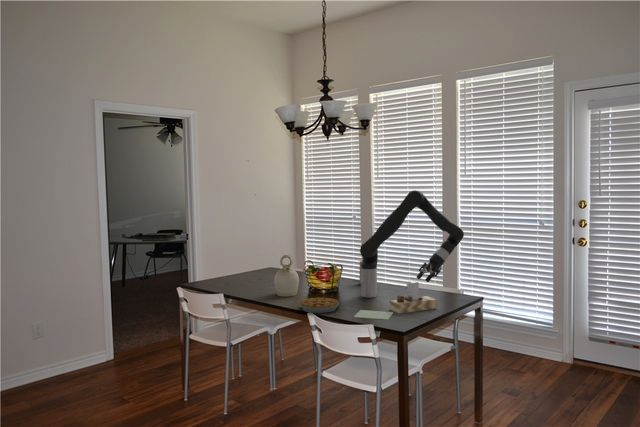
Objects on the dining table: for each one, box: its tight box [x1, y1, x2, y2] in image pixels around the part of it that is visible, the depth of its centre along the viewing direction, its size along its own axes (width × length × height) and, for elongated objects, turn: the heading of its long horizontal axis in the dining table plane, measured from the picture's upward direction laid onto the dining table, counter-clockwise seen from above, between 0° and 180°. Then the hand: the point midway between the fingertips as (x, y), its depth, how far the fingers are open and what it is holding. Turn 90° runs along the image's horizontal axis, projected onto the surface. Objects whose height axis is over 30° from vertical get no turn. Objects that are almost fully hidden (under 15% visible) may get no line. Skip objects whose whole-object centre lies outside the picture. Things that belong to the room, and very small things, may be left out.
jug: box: [273, 254, 300, 298], centre depth 316 cm, size 15×16×25 cm
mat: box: [353, 309, 394, 321], centre depth 265 cm, size 18×14×1 cm
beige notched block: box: [389, 294, 438, 314], centre depth 276 cm, size 24×9×8 cm, turn 112°
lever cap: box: [407, 280, 420, 301], centre depth 276 cm, size 4×4×10 cm
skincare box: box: [359, 260, 363, 285], centre depth 344 cm, size 8×7×16 cm
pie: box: [299, 296, 340, 314], centre depth 281 cm, size 22×22×5 cm
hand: (422, 279), depth 278 cm, fingers open, 8 cm apart
